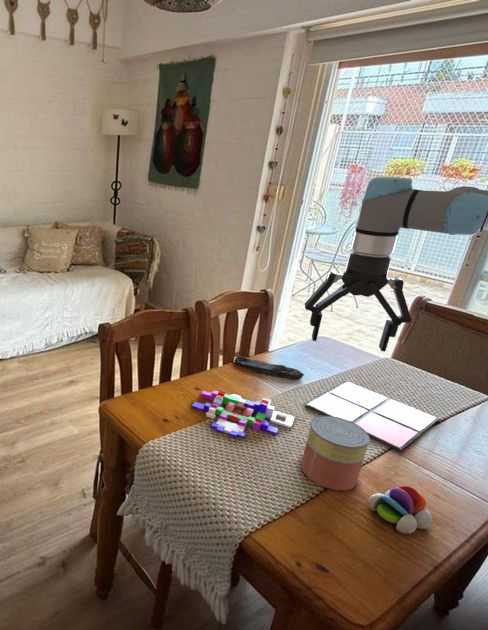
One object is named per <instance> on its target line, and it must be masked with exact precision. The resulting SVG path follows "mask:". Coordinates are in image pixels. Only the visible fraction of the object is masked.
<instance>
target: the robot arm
mask: <svg viewBox="0 0 488 630" xmlns="http://www.w3.org/2000/svg"><path fill="white" fill-rule="evenodd" d="M413 184H414V181H413V180H412V179H411V178H409V177H397V176H395V177H394V176H377V177H373V178H371V179H369V181H368V182H367V184H366V189H365V192H364V194H363V198H362V199H361V205H360V208H359V209H360V210H359V214H358V218H357V224H356V227H355V231H354V236H353V239H352V244H351V247H350V249H351V250H352V251H351V252H350V253H349V255H348V259H347V264H346V267H345V270H344V272H343V273H341V272H340V273H339V272H335V271H334V270H329V271H328V272H327V275H326V277H325V280H324V281H323V282H322V283H321V284H320V285H319V287H318V288H317V289H316V290H315V291H314V292H313V294H311V296H310V297H309V298H308V299H307V300H306V302H304V308H305V310H306V311H310V312H311V315H310V318H309V319H310V320H309V324H310V326H311V327H313V330H312V334H311V340H312V341H313V342H317V339H318V335H319V332H320V327H321V323H322V319H323V313H322V311H324V310H325V309H327V308H329V306H331V305H333V304H334V303H335V302H337V301H338V300H340V299H342V298H343V297H346V296H347V295H349V294H351V295H352V296H362V297H367V298H370V297H372V296H374V297H375V298H376V299H377V301H378V302H379V304H380V305H381V306H382V308H383V309H384V312H386V314H387V315H388V317H389V318H390V319H386V320H385V323H384V327H383V330H382V334H381V337H380V341H379V344H378V347H379V349H380V352H386V351H387V348H388V344H389V341H390V338H395V337H396V336H397V332H398V330H399V326H401V325H402V324H405V323H406V324H410V323H412V317H411V314H410V310H409V307H408V304H407V301H406V298H405V294H404V291H403V287H404V280H403V279H402V278H401V277H399V276H396V277H394V278H388V272H389V269H390V266H391V262H392V256H391V255H392V254H394V251H395V248H396V243H397V240H398V236H399V233H400V229H404V230H405V229H406V230H417V231H423V232H431V233H439V234H448V235H449V236H456V235H458V236H468V237H469V236H474V235H476V234H478V233H479V232H480V231H487V232H488V190H487V189H480V188H478V187H475V186H465V185H463V186H457V187H454V188H451V189H449V190H446V191H445V190H422V189H417V188H413V187H414V186H413ZM339 280H341V281H342V283H343V284H342V285H341V286H339V287H338V288H337V289H336V290H335V291H333V292H332V293H330V294H329V295H327V296H326V297H325V298H323V299H322V300H320V299H321V298H322V297H323V296H324V295H325V294H326V292H327V291H328V290H329V289H331V287H332V286H333V284H334V283H337V282H338V281H339ZM387 285H389V287H390V288H391V289H392V290H393V295H394V297H395V300H396V303H397V306H398V310H399V314H400V315H397V313H396V311H394V309H393V307H392V306H391V305H390V303H389V302H388V301H387V299H386V298H385V296H384V295H383V293H382V292H381V290H382V289H383V288H384V287H386V286H387ZM319 300H320V301H319Z"/></svg>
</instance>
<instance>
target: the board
mask: <svg viewBox="0 0 488 630" xmlns="http://www.w3.org/2000/svg"><path fill="white" fill-rule="evenodd" d="M304 406H305V407H306V408H308V409H310V410H312V411H314V412H316V413H318V414H320V415H321V416H334V417H339V418H343V419H346V420H348V421H351V422H353V423H355V424H357V425H358V426H360V427H361V428H363V429H364V430H365V431H366V432H367V433H368V435H369V437H370V439H372V440H374V441H377V442H379V443H380V444H383V445H385V446H387V447H388V448H390V449H393V450H395V451H397V452H400V453H401V452H402V451H404V450H405V449H406V448H407V447H409V446H410V445H411V444H412V443H414V442H415V441H416V440H417V439H418V438H419V437H421V436H422V435H424V433H426V432H427V431H428V430H429V429H430V428H432V427H434V425H435V424H436V423H438V422H439V421H440V418H439V417H436V416H434V415H431V414H429V413H427V412H424V411H421V410H419V409H417V408H414V407H413V406H409V405H406V404H405V403H403V402H399V401H397V400H394V399H392V398H389V397H387V396H384V395H382V394H379V393H378V392H376V391H375V392H374V391H372V390H369V389H367V388H365V387H362V386H360V385H358V384H355V383H353V382H350V381H346V382H344V383H342V384H340V385H338V386H336V387H335V388H333V389H331V390H330V391H328V392H326V393H324V394H322V395H321V396H318V397H317V398H315V399H313V400H311V401H309V402H308V403H306V404H305V405H304Z"/></svg>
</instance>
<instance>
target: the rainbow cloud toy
mask: <svg viewBox="0 0 488 630" xmlns="http://www.w3.org/2000/svg"><path fill="white" fill-rule="evenodd" d="M368 505H369V508H370V510H371V511H373V512H377V513H378V515H379V516H380V517H381V518H382V519H384V520H385V521H387V522H388V523H391V524H395V525H396V526H395V527H396V528H395V529H396V531H397V532H399V533H401V534H406V535H411V534H412V533H414V532H415V531H416V530H417V529H420V530H426V529H428V528H430V527H431V526H432V525H433V516H432V514H431V513H430V512H429V511H428V510H427V509H426V505H427V502H426V499H425V497H424V496H423V495H422V494H421V493H419V491H418V490H417V489H415V488H414V487H412V486H410V485H401V486H399V487H393V488H391V489H388V490H387V491H386V492H385V493H384V494H383V493H373V494H372V495H370V497H369V499H368Z"/></svg>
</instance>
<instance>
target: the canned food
mask: <svg viewBox="0 0 488 630" xmlns="http://www.w3.org/2000/svg"><path fill="white" fill-rule="evenodd" d="M309 425H310V426H309V429H308V434H307V438H306V441H305V447H304V450H303V454H302V458H301V463H300V467H301V470H302V472H303V473H304V475H305V476H306V477H308V479H310V480H311V481H313V482H314V483H316V484H318V485H320V486H323V487H324V488H327V489H330V490H335V491H347V490H348V491H349V490H351V489H353V488H354V487H356V485H357V481H358V478H359V475H360V472H361V469H362V466H363V462H364V459H365V456H366V452H367V449H368V446H369V444H370V441H371V438H370V437H369V435H368V433H367V432H366V431H365V430H364V429H363V428H361V427H360V426H358V425H357V424H355V423H353V422H351V421H348V420H346V419H343V418H339V417H334V416H324V415H319V416H316V417H314V418H312V419H311V420H310V423H309Z"/></svg>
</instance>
